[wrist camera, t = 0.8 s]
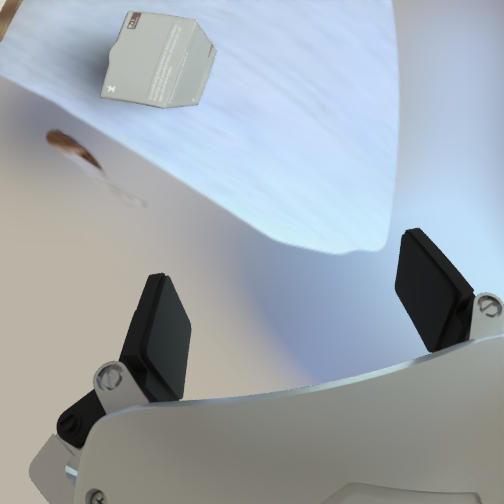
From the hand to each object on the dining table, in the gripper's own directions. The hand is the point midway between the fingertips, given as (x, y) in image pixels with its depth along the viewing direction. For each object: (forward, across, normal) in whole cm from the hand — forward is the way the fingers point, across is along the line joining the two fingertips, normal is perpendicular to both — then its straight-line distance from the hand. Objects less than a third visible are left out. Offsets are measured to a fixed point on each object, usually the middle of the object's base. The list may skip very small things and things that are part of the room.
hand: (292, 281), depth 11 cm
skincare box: (+30, +7, -11) cm, 33 cm away
